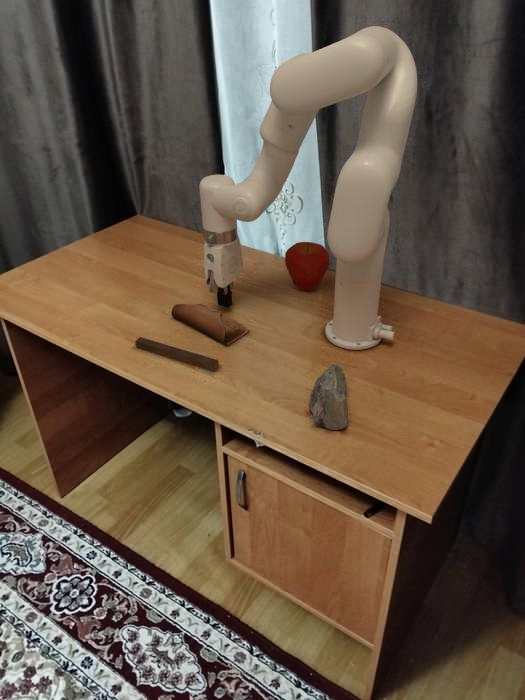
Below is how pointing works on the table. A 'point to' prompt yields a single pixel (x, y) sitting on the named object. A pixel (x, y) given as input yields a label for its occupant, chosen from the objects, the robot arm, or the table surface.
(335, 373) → the mineral rock
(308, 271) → the apple
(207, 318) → the sunglasses case
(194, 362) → the rail
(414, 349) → the table surface
